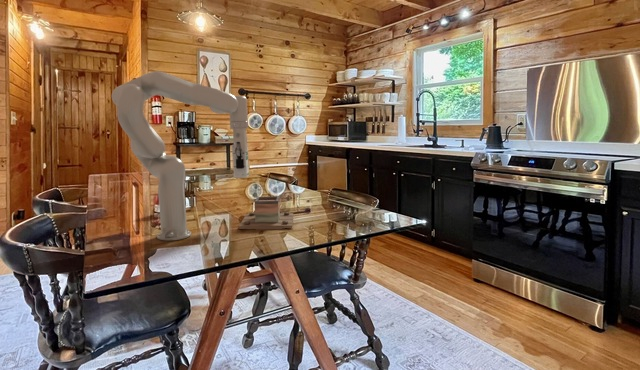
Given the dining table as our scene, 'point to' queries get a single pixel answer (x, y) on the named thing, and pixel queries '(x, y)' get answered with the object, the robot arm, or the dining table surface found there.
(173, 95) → the robot arm
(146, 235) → the dining table surface
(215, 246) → the dining table surface
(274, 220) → the metal block on plate
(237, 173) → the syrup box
